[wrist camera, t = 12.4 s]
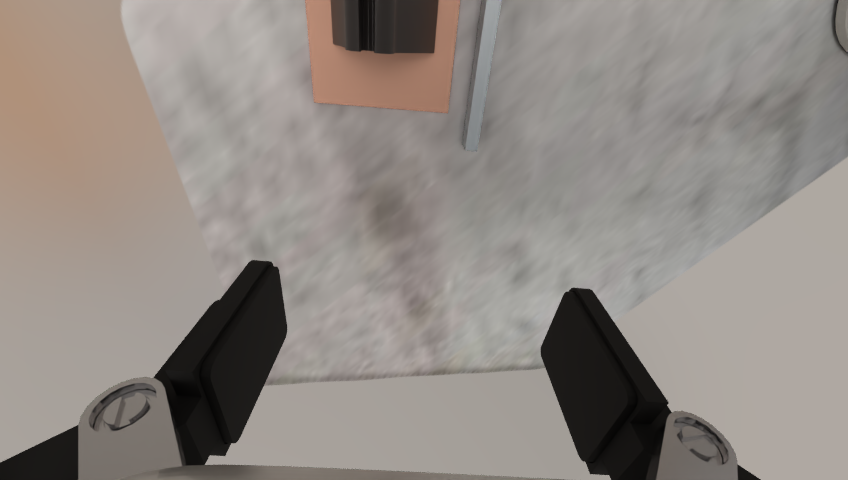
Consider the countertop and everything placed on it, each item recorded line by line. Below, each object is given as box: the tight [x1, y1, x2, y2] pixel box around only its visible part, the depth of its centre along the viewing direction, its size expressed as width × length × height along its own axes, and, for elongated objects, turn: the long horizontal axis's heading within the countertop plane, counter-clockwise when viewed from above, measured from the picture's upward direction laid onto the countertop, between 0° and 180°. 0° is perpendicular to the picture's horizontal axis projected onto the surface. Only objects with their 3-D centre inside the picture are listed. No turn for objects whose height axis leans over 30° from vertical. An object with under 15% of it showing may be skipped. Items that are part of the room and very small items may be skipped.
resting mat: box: [305, 0, 460, 113], centre depth 28 cm, size 13×16×1 cm
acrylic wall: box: [462, 0, 502, 152], centre depth 28 cm, size 1×22×2 cm, turn 176°
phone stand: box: [331, 0, 439, 54], centre depth 23 cm, size 9×6×12 cm, turn 85°
